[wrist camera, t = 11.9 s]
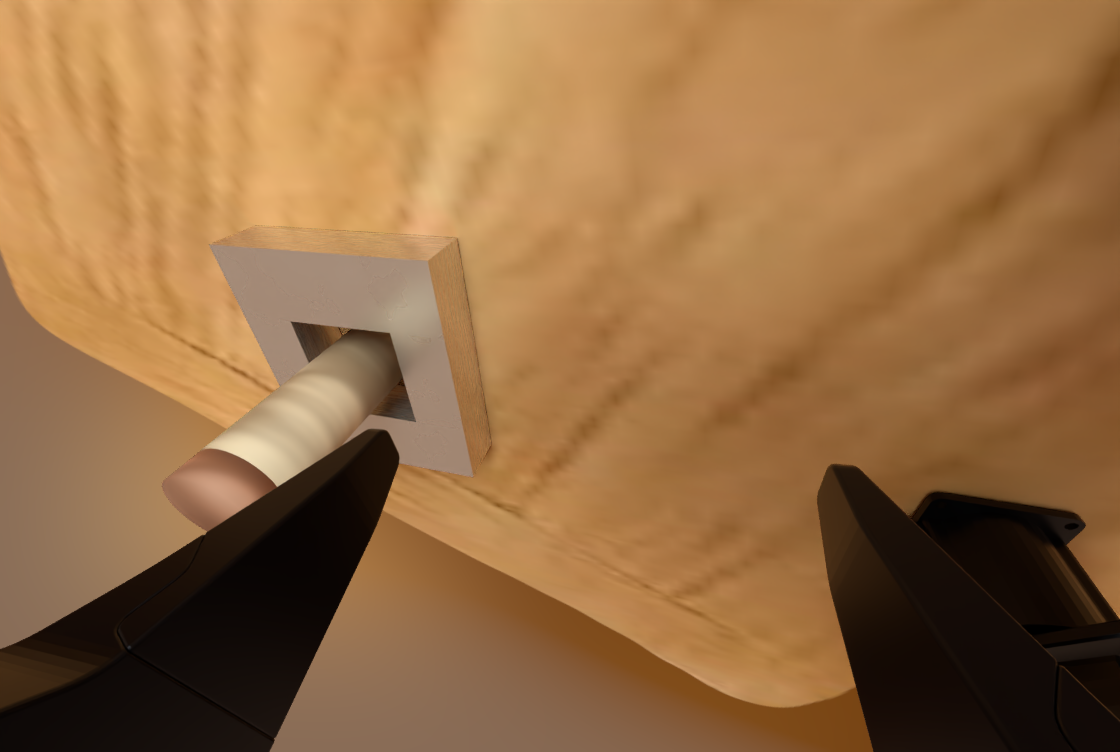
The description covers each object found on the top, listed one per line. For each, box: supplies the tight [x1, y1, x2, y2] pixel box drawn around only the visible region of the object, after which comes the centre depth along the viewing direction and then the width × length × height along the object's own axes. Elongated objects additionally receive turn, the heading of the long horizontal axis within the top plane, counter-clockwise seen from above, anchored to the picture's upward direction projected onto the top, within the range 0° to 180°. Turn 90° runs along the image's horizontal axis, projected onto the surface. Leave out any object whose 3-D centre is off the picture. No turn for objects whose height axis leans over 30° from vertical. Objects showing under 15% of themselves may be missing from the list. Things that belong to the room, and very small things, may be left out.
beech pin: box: [162, 329, 403, 531], centre depth 22 cm, size 4×4×12 cm
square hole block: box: [209, 225, 491, 477], centre depth 26 cm, size 12×14×3 cm
